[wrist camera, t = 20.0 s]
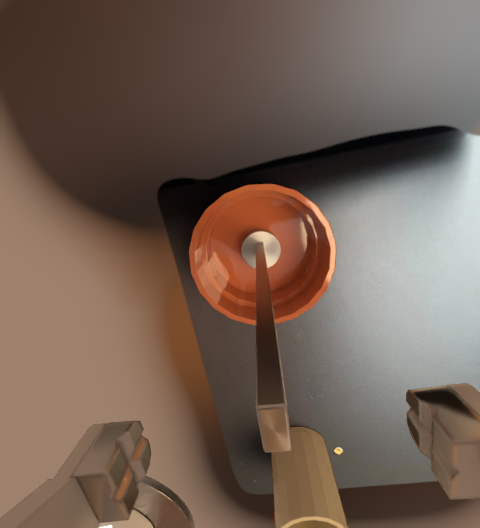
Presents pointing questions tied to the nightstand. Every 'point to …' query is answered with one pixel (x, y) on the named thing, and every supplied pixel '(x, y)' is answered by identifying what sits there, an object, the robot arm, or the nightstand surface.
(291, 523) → the crock
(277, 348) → the metal stirring rod
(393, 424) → the nightstand surface
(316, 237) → the bowl
